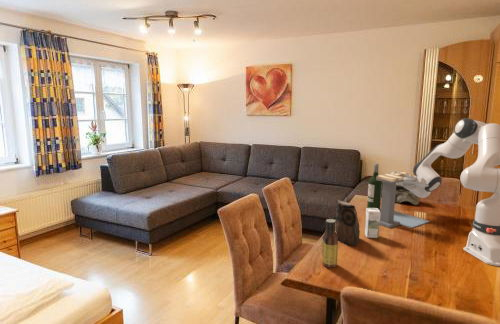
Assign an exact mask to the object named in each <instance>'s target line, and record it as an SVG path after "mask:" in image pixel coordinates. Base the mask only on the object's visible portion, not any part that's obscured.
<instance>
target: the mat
mask: <svg viewBox="0 0 500 324" xmlns="http://www.w3.org/2000/svg"><path fill="white" fill-rule="evenodd" d="M380 217H381V212H380ZM394 220H395V221H399V222H400V226H403V227H407V228H409V229H414V228H417V227H420V226H423V225H425V224H428V223H430V220H427V219H424V218H421V217H417V216H415V215H414V216H413V215H410V214H407V213H403V212H401V211H397V210H394Z"/></svg>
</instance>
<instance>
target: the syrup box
mask: <svg viewBox="0 0 500 324" xmlns="http://www.w3.org/2000/svg"><path fill="white" fill-rule="evenodd" d="M380 213H381V210H379V209H378V208H367V207H366V208H365V221H364V235H365V237H366V238H367V239H379V234H380V233H379V232H380V225H379V224H380Z"/></svg>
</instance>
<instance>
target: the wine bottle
mask: <svg viewBox="0 0 500 324" xmlns="http://www.w3.org/2000/svg"><path fill="white" fill-rule="evenodd" d="M379 166H380V164H379V163H376V162H374V164H373V173H372V176H371V177H370V178H369V179H368V184H367V185H368V187H367V203H366V204H367V205H366V208H378V209H379V211H381V202H382V191H381V189H382V184H383V181H378V180H376V177H377V176H379Z"/></svg>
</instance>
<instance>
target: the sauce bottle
mask: <svg viewBox="0 0 500 324" xmlns="http://www.w3.org/2000/svg"><path fill="white" fill-rule="evenodd" d="M335 227H336V220H335V218H334V219H333V218H329V219H327V218H326V220H325V231H324V234H323V236H322V243H321V244H322V245H321V246H322V248H321V249H322V250H321V252H322V254H321V261H322V265H323V266H325V267H327V268H330V269H331V268H336V267H337V265H338V255H339V253H338V251H339V247H338V246H339V241H338V236H337V234H336V229H335Z"/></svg>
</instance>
